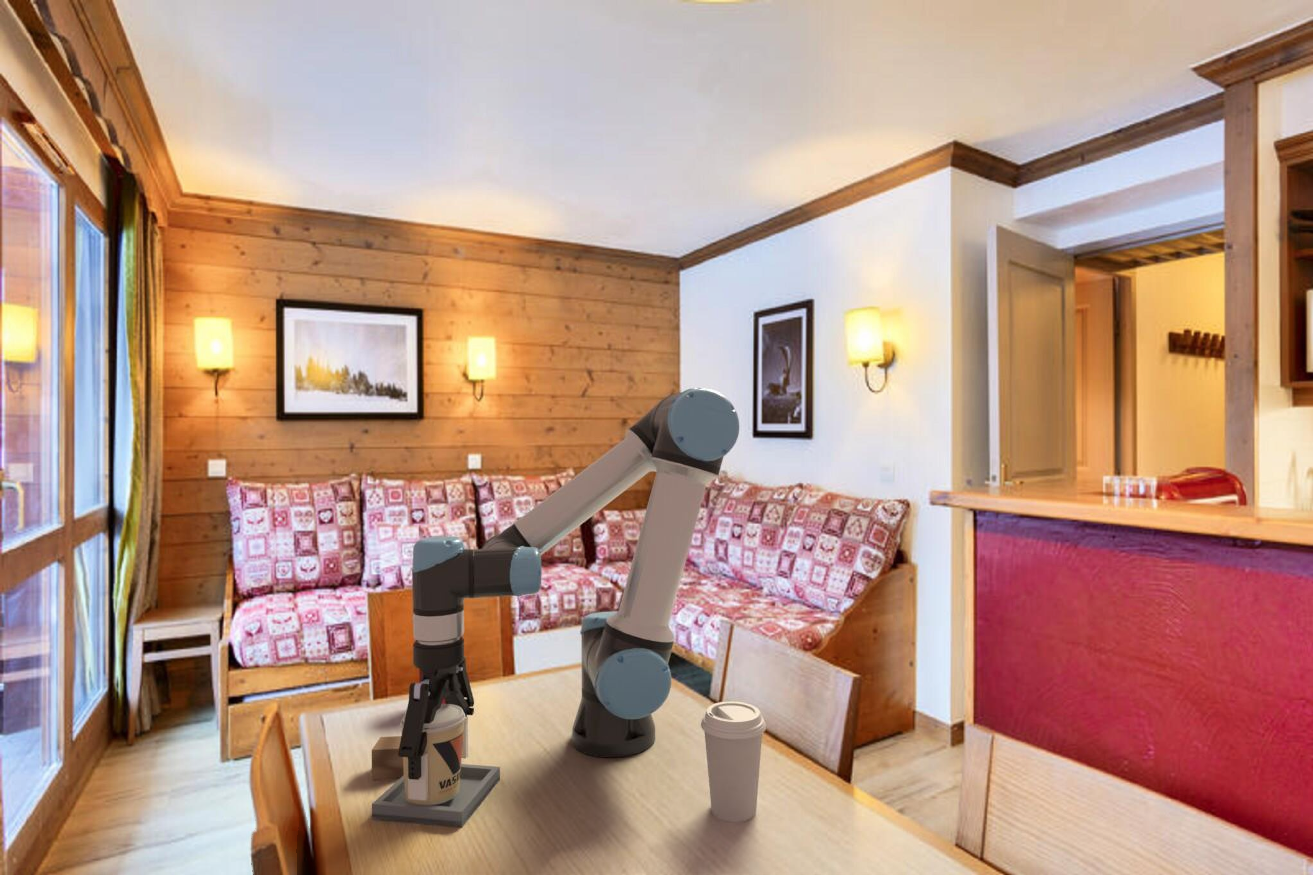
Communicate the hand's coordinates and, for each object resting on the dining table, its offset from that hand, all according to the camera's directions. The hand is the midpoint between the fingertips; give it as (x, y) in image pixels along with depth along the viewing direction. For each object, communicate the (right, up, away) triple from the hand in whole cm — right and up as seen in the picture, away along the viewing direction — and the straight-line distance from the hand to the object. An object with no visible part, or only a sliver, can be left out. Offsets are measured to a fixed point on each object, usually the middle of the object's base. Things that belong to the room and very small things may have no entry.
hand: (439, 776), depth 109 cm
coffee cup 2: (+45, -3, -5) cm, 45 cm away
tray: (0, -3, 0) cm, 3 cm away
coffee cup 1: (0, -2, -2) cm, 3 cm away
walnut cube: (-11, -4, +9) cm, 14 cm away
